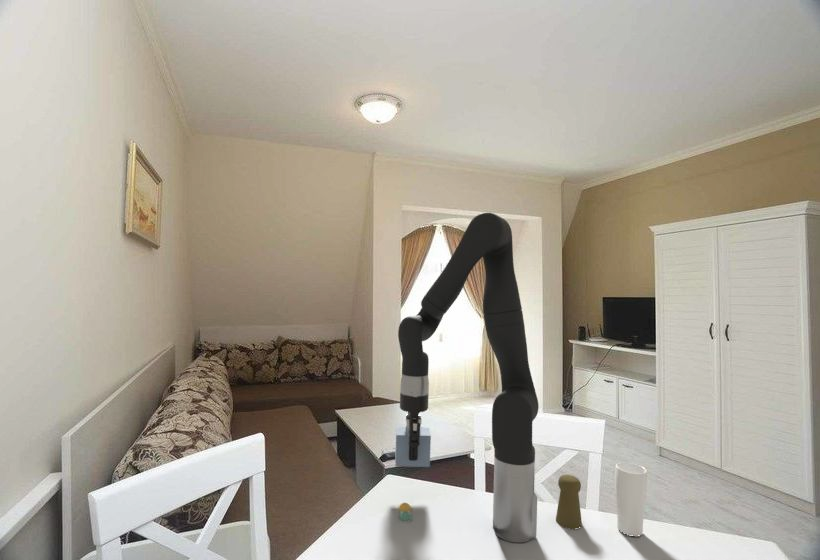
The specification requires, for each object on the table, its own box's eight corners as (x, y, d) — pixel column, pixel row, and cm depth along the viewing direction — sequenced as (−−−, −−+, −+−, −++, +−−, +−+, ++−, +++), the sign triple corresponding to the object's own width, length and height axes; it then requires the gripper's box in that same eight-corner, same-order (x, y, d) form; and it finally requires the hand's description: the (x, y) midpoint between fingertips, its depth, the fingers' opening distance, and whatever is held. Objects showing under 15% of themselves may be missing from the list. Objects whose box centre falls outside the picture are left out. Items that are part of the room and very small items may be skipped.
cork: (581, 518, 107) (581, 473, 107) (583, 531, 101) (583, 484, 101) (555, 513, 108) (556, 470, 109) (555, 526, 103) (556, 480, 103)
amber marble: (410, 512, 107) (410, 500, 107) (411, 518, 104) (411, 506, 104) (398, 512, 107) (398, 500, 107) (398, 518, 104) (399, 506, 104)
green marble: (411, 520, 103) (411, 508, 104) (411, 527, 100) (412, 514, 101) (398, 520, 103) (399, 508, 103) (399, 527, 100) (399, 514, 100)
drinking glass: (650, 542, 97) (651, 475, 97) (618, 537, 99) (619, 472, 99) (640, 525, 104) (641, 463, 104) (610, 521, 105) (611, 460, 105)
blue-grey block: (395, 466, 110) (396, 435, 110) (395, 456, 116) (396, 426, 116) (429, 466, 110) (430, 435, 110) (427, 456, 116) (428, 427, 117)
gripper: (399, 384, 120) (397, 444, 120) (400, 398, 106) (398, 466, 106) (426, 385, 121) (424, 444, 120) (431, 398, 106) (429, 466, 106)
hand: (412, 454), depth 113 cm, fingers closed on blue-grey block, 6 cm apart
